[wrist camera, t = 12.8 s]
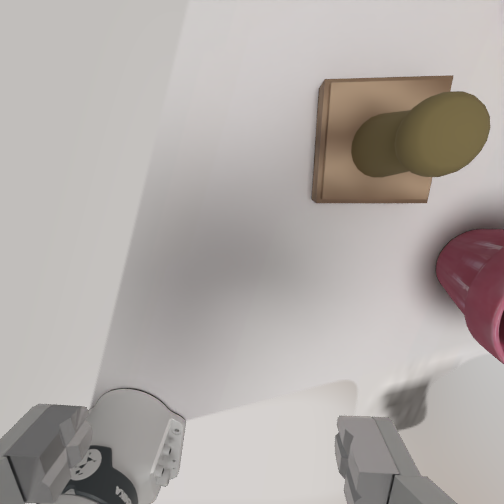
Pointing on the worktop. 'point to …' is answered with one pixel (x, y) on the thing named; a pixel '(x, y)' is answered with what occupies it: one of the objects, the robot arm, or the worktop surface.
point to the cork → (423, 137)
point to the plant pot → (477, 284)
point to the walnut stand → (345, 127)
